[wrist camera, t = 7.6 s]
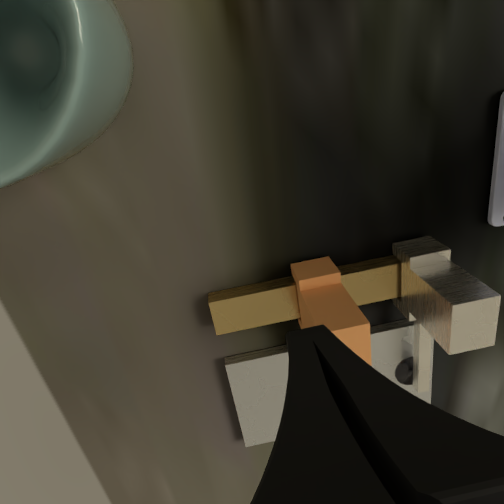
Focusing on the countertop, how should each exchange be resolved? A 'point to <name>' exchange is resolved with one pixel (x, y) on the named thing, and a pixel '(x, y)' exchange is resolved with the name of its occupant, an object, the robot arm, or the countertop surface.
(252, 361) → the bolt plate
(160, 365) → the countertop surface
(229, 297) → the rail
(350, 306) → the slider leg
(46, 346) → the countertop surface
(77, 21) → the cup
